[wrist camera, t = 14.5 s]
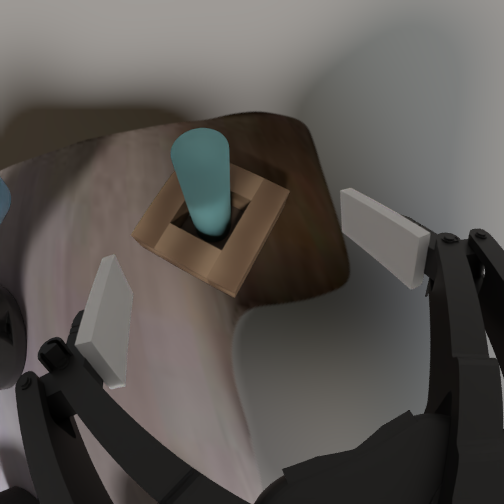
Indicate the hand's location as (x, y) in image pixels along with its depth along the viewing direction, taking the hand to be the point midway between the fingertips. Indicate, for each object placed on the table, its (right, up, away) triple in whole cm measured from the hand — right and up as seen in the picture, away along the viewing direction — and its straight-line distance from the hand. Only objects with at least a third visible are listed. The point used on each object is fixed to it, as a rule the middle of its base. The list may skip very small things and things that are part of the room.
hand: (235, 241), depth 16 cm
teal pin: (-3, +2, +16) cm, 17 cm away
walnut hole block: (-3, +2, +17) cm, 17 cm away
